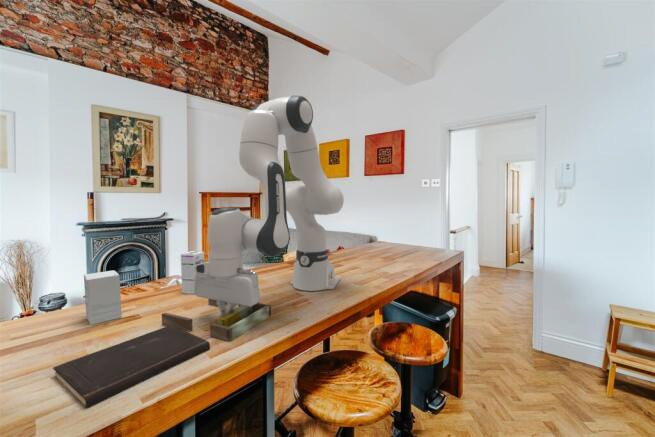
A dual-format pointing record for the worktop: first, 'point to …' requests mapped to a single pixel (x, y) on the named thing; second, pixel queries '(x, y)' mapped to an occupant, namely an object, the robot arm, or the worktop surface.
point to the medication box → (235, 315)
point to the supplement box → (102, 296)
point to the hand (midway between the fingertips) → (226, 316)
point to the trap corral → (218, 330)
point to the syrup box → (190, 269)
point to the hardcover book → (128, 363)
